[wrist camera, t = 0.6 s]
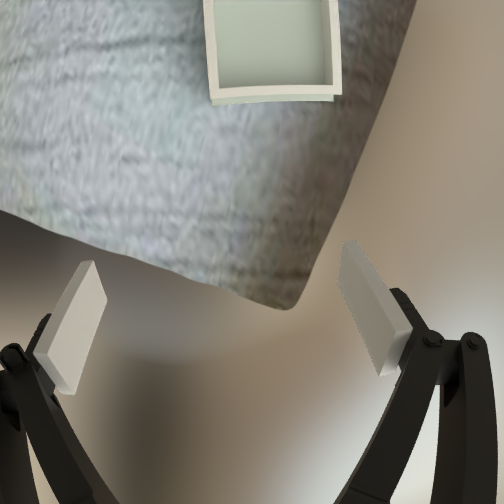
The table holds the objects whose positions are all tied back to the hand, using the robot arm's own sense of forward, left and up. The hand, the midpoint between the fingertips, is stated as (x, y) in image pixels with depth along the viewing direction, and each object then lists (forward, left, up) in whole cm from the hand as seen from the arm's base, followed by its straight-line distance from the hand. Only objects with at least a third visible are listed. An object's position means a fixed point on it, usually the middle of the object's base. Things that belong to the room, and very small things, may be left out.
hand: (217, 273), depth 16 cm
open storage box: (-14, +7, -29) cm, 33 cm away
